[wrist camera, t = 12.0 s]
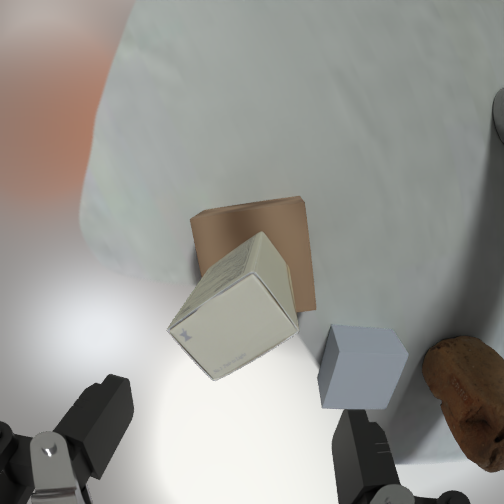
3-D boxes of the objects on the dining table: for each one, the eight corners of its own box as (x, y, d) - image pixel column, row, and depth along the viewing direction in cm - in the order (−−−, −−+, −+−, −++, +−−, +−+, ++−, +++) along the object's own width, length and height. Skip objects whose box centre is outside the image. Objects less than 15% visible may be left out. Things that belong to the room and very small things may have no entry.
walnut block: (299, 195, 32) (304, 202, 26) (310, 286, 34) (316, 309, 29) (204, 209, 33) (189, 219, 27) (221, 297, 36) (211, 321, 30)
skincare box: (235, 304, 29) (212, 386, 17) (205, 266, 28) (161, 331, 17) (292, 266, 28) (303, 335, 16) (262, 226, 27) (253, 269, 15)
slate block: (392, 328, 35) (408, 354, 29) (374, 379, 37) (385, 408, 31) (331, 323, 35) (339, 351, 30) (317, 377, 38) (322, 408, 32)
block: (486, 336, 34) (563, 420, 15) (464, 378, 36) (524, 469, 17) (432, 328, 34) (512, 433, 15) (410, 375, 36) (465, 486, 17)
